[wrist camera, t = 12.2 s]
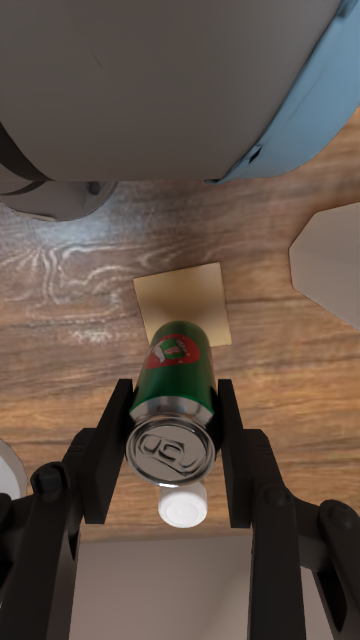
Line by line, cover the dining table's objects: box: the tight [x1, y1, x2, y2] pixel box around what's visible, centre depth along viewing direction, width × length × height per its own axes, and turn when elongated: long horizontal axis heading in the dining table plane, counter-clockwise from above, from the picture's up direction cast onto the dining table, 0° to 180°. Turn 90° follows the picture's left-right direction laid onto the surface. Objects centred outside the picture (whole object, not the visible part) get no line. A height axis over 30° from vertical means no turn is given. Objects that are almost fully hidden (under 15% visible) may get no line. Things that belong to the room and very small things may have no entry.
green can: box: [122, 320, 223, 488], centre depth 18 cm, size 5×5×12 cm
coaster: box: [133, 262, 232, 347], centre depth 33 cm, size 10×10×1 cm
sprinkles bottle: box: [158, 478, 207, 528], centre depth 32 cm, size 5×5×14 cm
